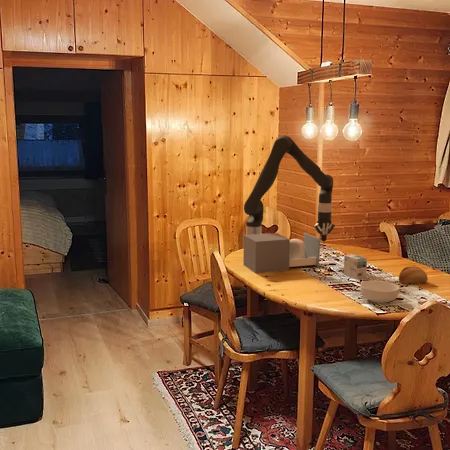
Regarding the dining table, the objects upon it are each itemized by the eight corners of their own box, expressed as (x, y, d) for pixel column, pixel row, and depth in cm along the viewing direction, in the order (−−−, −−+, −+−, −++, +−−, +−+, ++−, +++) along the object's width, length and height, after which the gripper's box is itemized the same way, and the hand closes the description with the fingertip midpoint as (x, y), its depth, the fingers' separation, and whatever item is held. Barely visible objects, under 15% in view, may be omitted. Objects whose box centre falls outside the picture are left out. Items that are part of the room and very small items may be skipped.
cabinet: (243, 264, 304) (243, 235, 301) (275, 262, 310) (276, 232, 307) (255, 273, 287) (255, 241, 284) (289, 270, 293) (289, 239, 290)
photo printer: (287, 259, 307) (287, 237, 305) (293, 258, 310) (293, 237, 307) (299, 263, 299) (300, 241, 297) (305, 262, 301) (306, 240, 299)
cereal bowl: (381, 309, 232) (382, 293, 231) (351, 299, 245) (352, 284, 244) (406, 301, 242) (407, 286, 241) (376, 292, 255) (377, 278, 254)
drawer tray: (273, 261, 310) (273, 234, 307) (304, 258, 316) (305, 232, 313) (286, 269, 293) (287, 241, 290) (319, 266, 299) (320, 238, 296)
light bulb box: (366, 277, 279) (367, 257, 277) (356, 279, 276) (357, 258, 274) (353, 272, 289) (353, 253, 287) (342, 274, 286) (343, 254, 284)
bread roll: (393, 281, 274) (394, 265, 272) (420, 279, 277) (421, 264, 276) (404, 286, 265) (405, 270, 263) (431, 284, 268) (432, 268, 267)
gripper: (331, 209, 310) (330, 239, 313) (310, 210, 306) (310, 240, 309) (338, 211, 303) (337, 241, 306) (317, 212, 299) (316, 243, 302)
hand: (323, 241), depth 307 cm, fingers closed
